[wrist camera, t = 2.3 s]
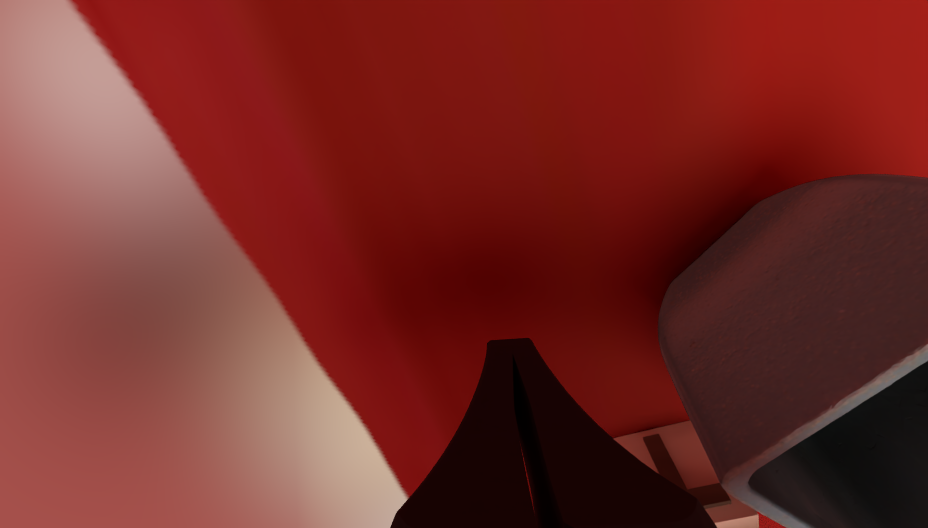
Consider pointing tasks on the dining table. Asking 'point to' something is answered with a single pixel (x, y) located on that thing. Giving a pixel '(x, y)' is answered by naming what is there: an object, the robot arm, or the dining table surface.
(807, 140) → the dining table surface
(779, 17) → the dining table surface
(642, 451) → the letter cube
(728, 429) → the flower pot
